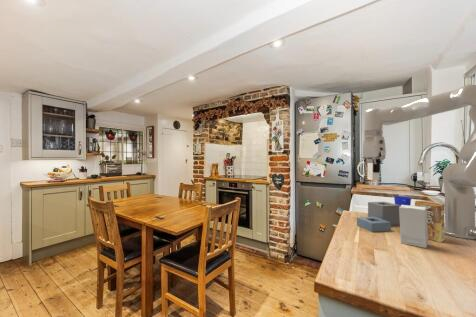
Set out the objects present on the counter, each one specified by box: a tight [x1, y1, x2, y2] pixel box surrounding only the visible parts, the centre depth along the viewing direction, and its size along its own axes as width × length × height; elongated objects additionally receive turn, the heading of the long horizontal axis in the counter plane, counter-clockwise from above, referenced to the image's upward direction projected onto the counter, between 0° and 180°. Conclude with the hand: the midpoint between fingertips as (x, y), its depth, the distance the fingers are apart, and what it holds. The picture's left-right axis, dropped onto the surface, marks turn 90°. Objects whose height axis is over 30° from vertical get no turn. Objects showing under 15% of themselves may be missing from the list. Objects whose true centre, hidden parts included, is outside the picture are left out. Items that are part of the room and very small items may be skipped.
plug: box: [366, 158, 380, 181], centre depth 107 cm, size 3×3×10 cm
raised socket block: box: [367, 201, 400, 227], centre depth 116 cm, size 10×10×10 cm
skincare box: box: [399, 205, 429, 249], centre depth 87 cm, size 8×6×15 cm
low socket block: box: [356, 216, 392, 233], centre depth 107 cm, size 10×10×4 cm
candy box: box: [414, 199, 446, 243], centre depth 93 cm, size 9×4×15 cm, turn 33°
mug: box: [393, 195, 412, 206], centre depth 132 cm, size 8×12×10 cm
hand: (373, 171), depth 107 cm, fingers closed on plug, 3 cm apart
